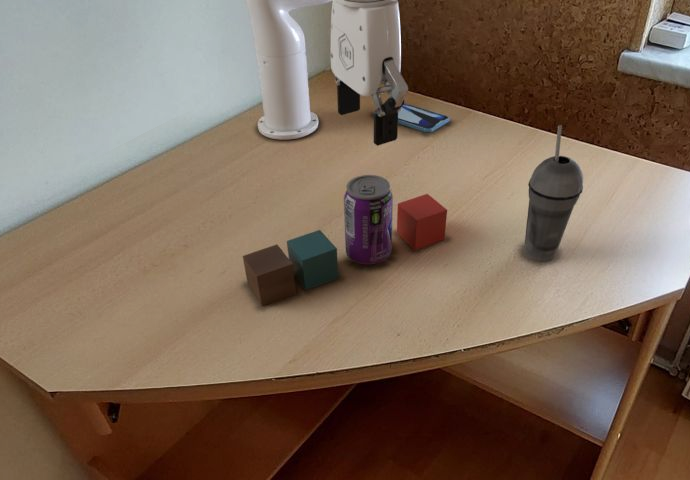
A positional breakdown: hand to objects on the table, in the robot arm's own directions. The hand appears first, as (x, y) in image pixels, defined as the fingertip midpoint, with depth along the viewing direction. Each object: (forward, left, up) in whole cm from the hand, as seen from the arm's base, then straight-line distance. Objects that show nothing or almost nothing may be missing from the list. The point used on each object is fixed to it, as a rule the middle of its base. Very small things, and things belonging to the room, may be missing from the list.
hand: (366, 126), depth 82 cm
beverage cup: (+14, +22, -21) cm, 33 cm away
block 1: (+1, -17, -21) cm, 26 cm away
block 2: (+1, -10, -21) cm, 23 cm away
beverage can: (0, 0, -21) cm, 21 cm away
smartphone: (-35, +30, -21) cm, 51 cm away
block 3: (+1, +9, -21) cm, 23 cm away
